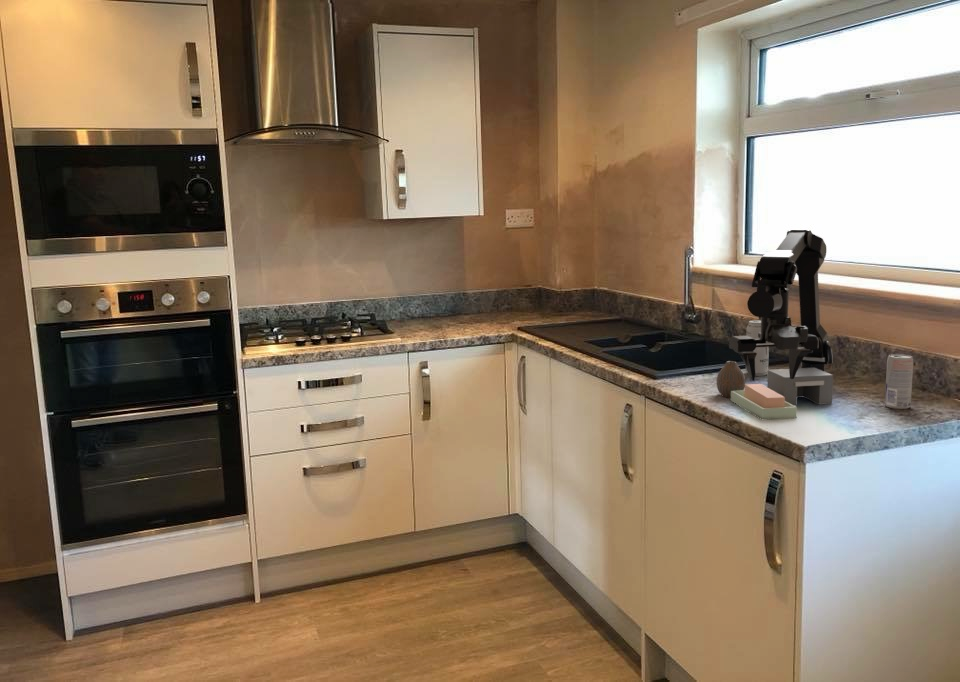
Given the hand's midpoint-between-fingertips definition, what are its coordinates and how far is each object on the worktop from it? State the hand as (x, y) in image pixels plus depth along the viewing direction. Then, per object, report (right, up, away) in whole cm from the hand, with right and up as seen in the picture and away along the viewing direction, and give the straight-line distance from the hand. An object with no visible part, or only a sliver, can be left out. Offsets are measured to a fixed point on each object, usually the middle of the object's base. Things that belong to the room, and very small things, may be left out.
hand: (772, 379), depth 183 cm
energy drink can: (+12, -1, +44) cm, 46 cm away
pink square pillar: (0, -7, +6) cm, 9 cm away
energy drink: (+31, -7, +5) cm, 32 cm away
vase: (-3, -5, +20) cm, 21 cm away
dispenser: (+11, -6, +13) cm, 18 cm away
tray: (0, -7, +6) cm, 10 cm away
